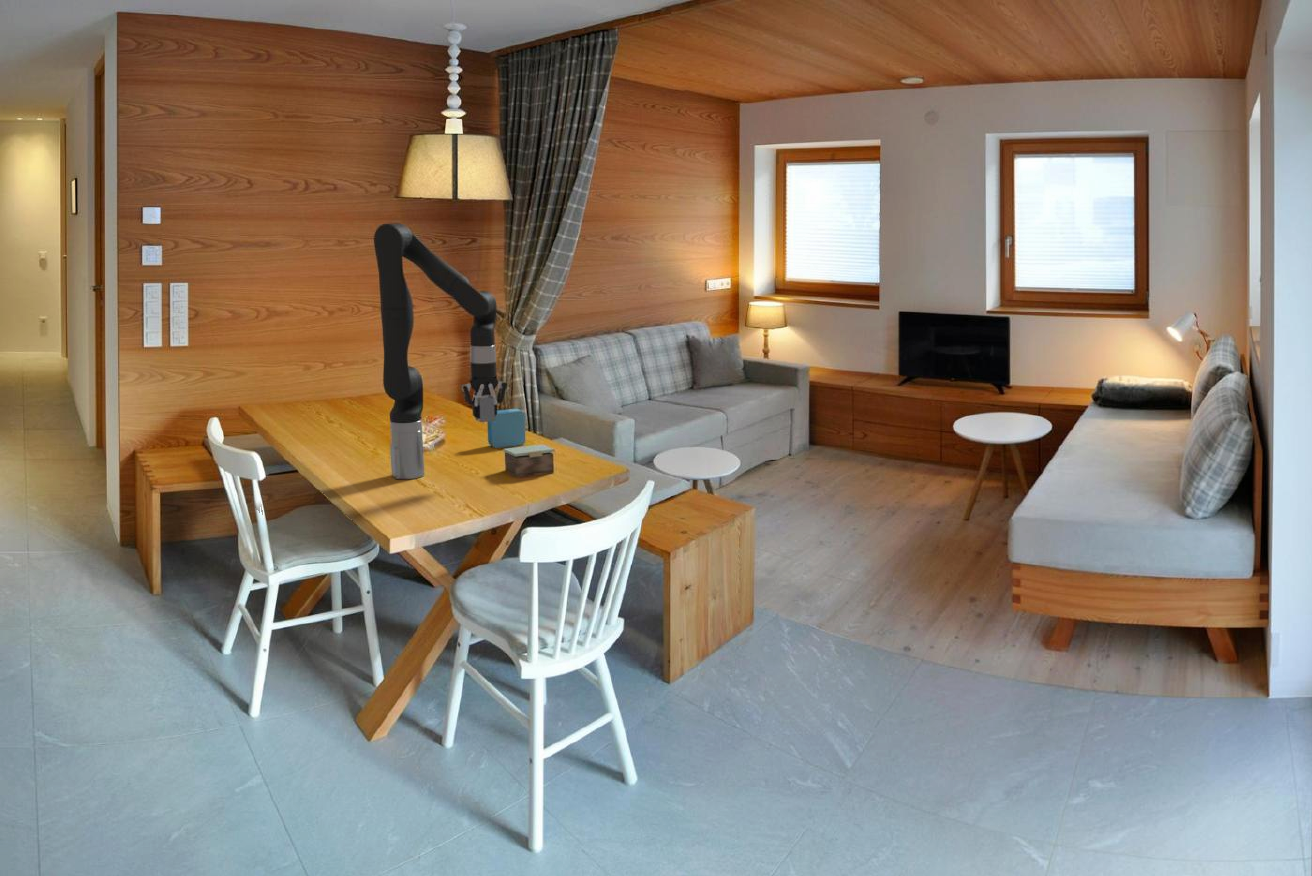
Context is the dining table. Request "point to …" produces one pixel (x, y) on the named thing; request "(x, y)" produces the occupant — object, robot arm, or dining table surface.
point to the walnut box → (529, 465)
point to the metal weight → (486, 409)
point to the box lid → (529, 450)
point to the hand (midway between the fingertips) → (485, 417)
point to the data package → (507, 429)
